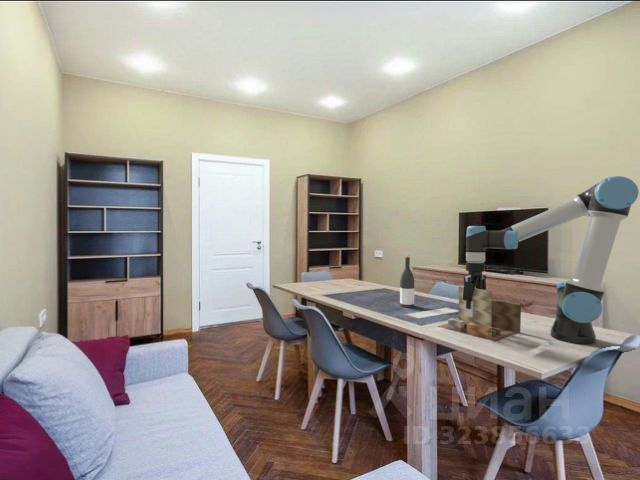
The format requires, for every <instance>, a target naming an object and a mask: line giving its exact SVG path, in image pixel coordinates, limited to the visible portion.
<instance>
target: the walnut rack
mask: <svg viewBox="0 0 640 480" xmlns="http://www.w3.org/2000/svg"><path fill="white" fill-rule="evenodd" d="M521 312H522V304H521V303H518V302H517V303H515V302H510V301H503V300H498V299H493V298H492V324H491V327H492V338H489V339H487V338H483V337H480V336H476V335H472V334H468V333H467V324H466V323H464V331H457V330H453V329H449V328H448V323H445V324H442V325H437V328H442V329H445V330H449V331H453V332H456V333H460V334H464V335H467V336H472V337H476V338H479V339H482V340H486V341H491V342H494V343H496V342H499V341H501V340H504V339H507V338H510V337H513V336H515V335H518V334H520V333H521V326H522V325H521V317H522V316H521V315H522V313H521ZM457 319H458V320H459V318H457Z"/></svg>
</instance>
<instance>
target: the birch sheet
mask: <svg viewBox="0 0 640 480" xmlns="http://www.w3.org/2000/svg"><path fill="white" fill-rule="evenodd" d="M463 289H464V286H461V285H460V286H458V311H459V313H458V319H459V320H462V321H464V323H466V324H468V323H475V324H479V325H483V326H488V327H491V324H492V299H493V290H489V289H486V290H483V289H476V287H475V289H474V293H473V298H472V302H473V317H468V316H466V301H464V300H463Z"/></svg>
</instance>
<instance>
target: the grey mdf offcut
mask: <svg viewBox="0 0 640 480" xmlns="http://www.w3.org/2000/svg"><path fill="white" fill-rule="evenodd" d="M458 319H459V318H453V317H451V318H448V319H447V324H448V328H449V329H453V330H457V331H464V321H462V320H458Z"/></svg>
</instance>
